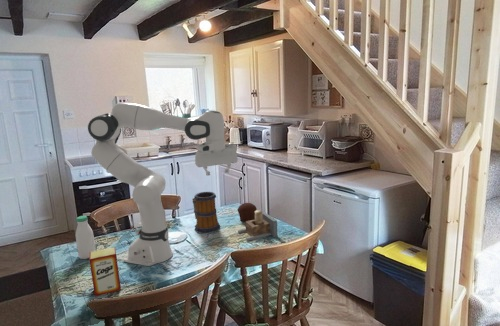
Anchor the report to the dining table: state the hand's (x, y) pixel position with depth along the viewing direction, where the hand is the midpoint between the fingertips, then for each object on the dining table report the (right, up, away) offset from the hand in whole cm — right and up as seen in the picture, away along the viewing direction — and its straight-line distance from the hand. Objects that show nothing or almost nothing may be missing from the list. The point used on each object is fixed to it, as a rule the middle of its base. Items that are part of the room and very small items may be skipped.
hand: (217, 173), depth 162 cm
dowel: (+20, -30, +20) cm, 42 cm away
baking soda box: (-42, -45, -26) cm, 67 cm away
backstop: (+19, -33, +20) cm, 43 cm away
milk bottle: (-63, -40, +3) cm, 75 cm away
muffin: (+14, -29, +41) cm, 52 cm away
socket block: (+20, -32, +21) cm, 43 cm away
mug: (-10, -32, +32) cm, 46 cm away
